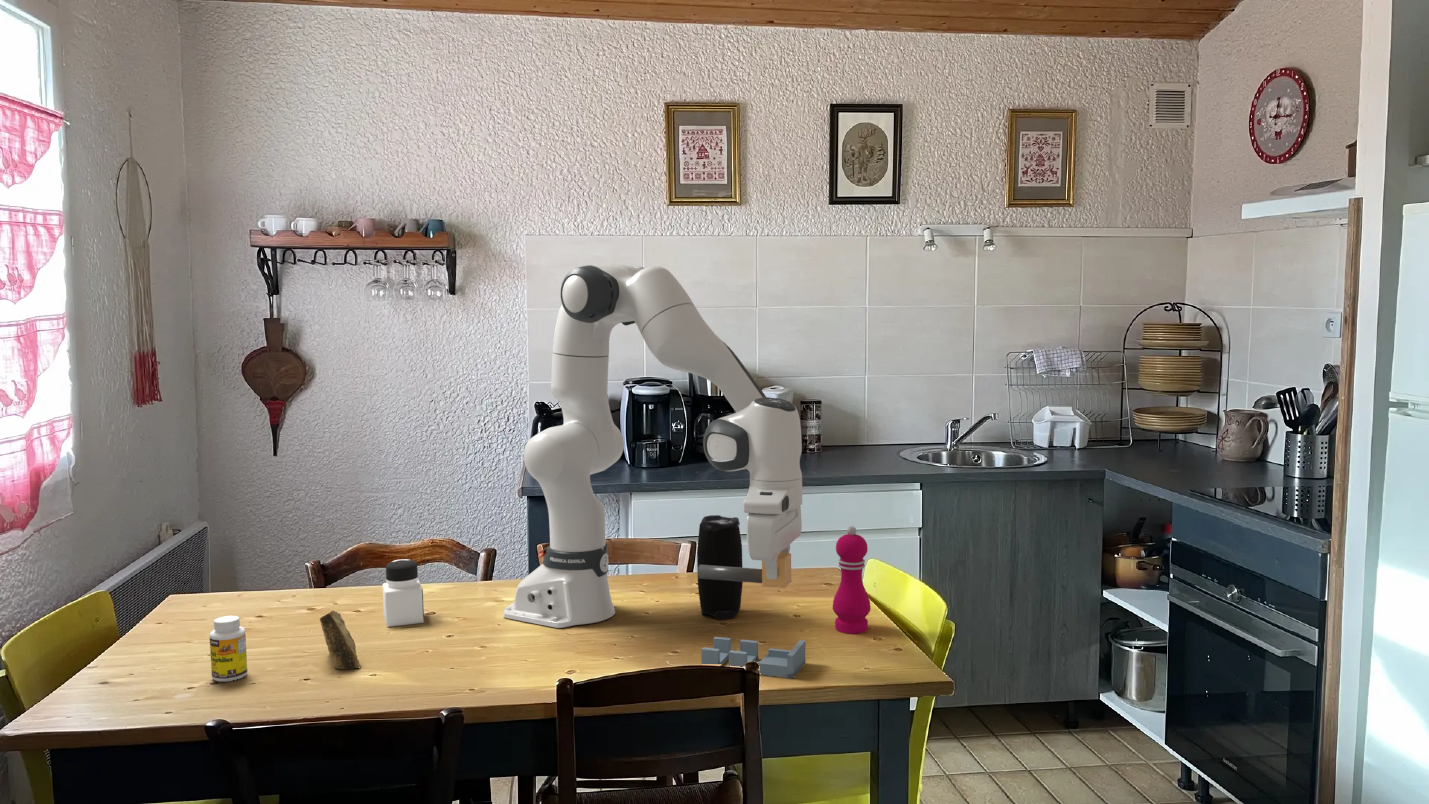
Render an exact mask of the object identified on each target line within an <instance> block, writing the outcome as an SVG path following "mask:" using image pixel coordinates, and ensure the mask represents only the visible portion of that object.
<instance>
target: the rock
mask: <svg viewBox="0 0 1429 804" xmlns="http://www.w3.org/2000/svg"><path fill="white" fill-rule="evenodd" d="M319 621H320V625H321V629H322V632H323V636H324V640H325V643H326V646H327V650H328V653H329V655H330V656H331V661H332V663H333V667H334V669H340V670H352V669H351V668H359V667H361V665H360V661H359V659H358V655H357V651H356V650H357V649H356V643H355V641H354V639H353V638H352V635H351V633H350V630H349V629H348V628H347V627H346V622H345V621H344V619H343V617H342V615H341V613H338V612H337V611H335V610H331V611H330V612H328V613H326V614H324V615H323V616H321V617H320V618H319ZM361 668H362V667H361ZM359 669H360V668H359Z"/></svg>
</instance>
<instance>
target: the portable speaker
mask: <svg viewBox="0 0 1429 804" xmlns="http://www.w3.org/2000/svg"><path fill="white" fill-rule="evenodd" d="M740 523H741V522H740V518H739V517H736V516H735V517H727V516H722V515H719V514H718V515H717V514H716V515H715V514H714V515H713V514H712V515H707V516H703V517H702V519H701V522H700V523H699V528H698V539H697V548H696V559H697V560H696V561H697V562H696V567H697V569H696V570H697V572H696V573H698V567H699V565H713V566H726V567H740V568H743V544H742V536H741V532H740V531H741V530H740ZM743 584H744V582H739V581H726V580H713V579H700V578H698V577H697V588H698V597H699V599H698V600H699V606H700V612H701V615H702V616H706V615H710V616H713V617H714V618H715V620H717V621H724V620H728V619H735V616H736V614H737V613H738V612H739V611H740V610H741V606H742V605H741V604H742V594H743Z"/></svg>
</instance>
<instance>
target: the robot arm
mask: <svg viewBox="0 0 1429 804" xmlns="http://www.w3.org/2000/svg"><path fill="white" fill-rule="evenodd" d="M560 302H561V305H560V307H559V309H558V314H557V317H556V322H555V328H554V333H553V334H554V335H553V341H552V353H551V356H552V357H551V371H550V372H551V373H550V374H551V375H550V391H551V394H552V395H553V397H554V398H556V400H557V401H558V402H559V404H560V407H561V412H562V418H563V424H560V425H556V426H551V427H548V428H546V429H544V430H542V431H540V432H538V433H536V434H535V435H534V436H532V437H531V438H529V440H528V441H527V442H526V445H525V447H524V449H523V461H524V465H525V468H526V470H527V472H528V473H529V475H530V476H531V477H532V478H533V479H534V480H536V481H537V482H538V484H539V486H540V488H541V491H542V492H543V495H544V498H545V502H546V506H547V512H548V523H549V525H548V527H549V545H548V546H546V547H545V548H542V550H540V551H538V553H537V554H539V555H538V558H539V559H540V558H542V557H543V561H542V564H541V565H539V566H538V567H537V568H535V569H534V570H533V571H532V572H531V573H529V574H528V575H527V576H526V577H524V578H523V579H522V580H521V581H520V582H519V583H518V585H517V586H516V590H515V595H514V602H511V603H510V604H508V605H507V606H506V607H505V608H504V610H503V618H505V619H511V620H515V621H520V622H524V623H525V622H526V623H530V624H535V625H542V626H546V627H552V628H555V629H556V628H557V629H562V628H568V627H572V626H577V625H587V624H594V623H600V622H601V621H605V620H606V621H607V620H608V619H610V618H611V617H614V615H615V613H616V609H615V607H614V603H613V600H612V596H611V591H610V586H609V585H610V584H609V578H608V572H609V551H608V544H607V542H606V515H605V514H606V509H605V506H604V505H603V502H601V500H599V498H597V497H596V495H595V492H594V491H593V490H594V489H593V487H592V484H591V483H592V482H591V475H594V474H597V473H600V472H604V471H606V470H607V469H608V468H610V467H611V466H613V465H614V464H615V463H617V462H618V461H619V460H620V459H621V456H622V454H623V452H624V448H625V447H624V446H625V442H624V437H623V434H622V432H621V430H620V429H619V427H617V425H616V424H615V423H614V420H613V417H612V411H611V408H610V404H609V403H610V402H609V395H608V388H609V387H608V384H609V383H608V380H609V379H608V378H609V361H610V359H609V358H610V338H611V333H612V331H613V329H614V328H615V326H617V325H618V324H622V325H624V326H626V327H627V326H630V325H633V324H636V328H638V330H639V332H640V335H641V337H642V338H643V340H644V342H645V344H646V346H647V347H648V349H649V350H650V353H651V354H652V355H653V356H654V358H656V359H657V360H658V361H659V362H660V363H661V364H662V365H663V366H664V367H668V368H670V369H673V370H676V371H681V372H684V373H688V374H692V375H696V376H698V377H701V378H703V379H706V380H708V381H709V382H711V383H712V384H713V385H715V386H716V387H717V388H718V389H719V390H720V391H721V393H722V394H723V396H724V397H725V399H726V400H727V402H728V403H729V404H730V406H731V407H732V408H733V410H734V413H731V414H729V415H726V416H722V417H719V418H716V419H714V420H712V421H711V422H710V423H709V424H708V426H707V427H706V429H705V432H704V434H703V439H702V440H703V441H702V443H703V444H702V445H703V452H704V454H705V455H704V456H705V458H706V459H707V461H708V462H709V464H711V466H712V467H713V468H715V469H716V470H718V471H721V472H722V471H723V472H736V471H741V470H748V472H749V487H748V493H747V494H746V496H745V498H744V500H743V505H742V506H743V508H742V509H743V512H744V513H746V514H747V515H746V537H747V538H746V539H747V550H748V555H749V557H750V559H751V560H752V561H753V560H754V561H761V562H762V561H764V564H765V567H766V577H767V578H768V579H776V578H777V577H778V576H779V567H777V559H778V554H779V553H790V552H791V551H790V550H791V544H792V543H793V542H794V541H796V540H797V539H798V538H799V537H800V536H801V535H802V530H803V529H802V528H803V527H802V523H803V522H802V508H801V506H802V505H803V475H802V473H803V472H802V470H801V465H800V464H801V463H800V460H801V456H802V451H803V450H802V449H803V448H802V447H803V445H802V444H803V443H802V442H803V441H802V427H801V419H800V414H799V412H798V409H797V407H796V405H795V404H793V403H792V401H788V400H786V399H783V398H778V397H767V396H766V394H765V393H764V391H763V390H762V388H760V386H759V384H758V383H757V382H756V380H755V379H754V378H753V376H752V374H750V372H749V371H748V369H747V368H746V367H745V365H744V364H743V362H742V361H741V360H740V358H739V357H738V356H737V354H736V353H735V352H734V351H733V349H732V348H730V346H728V345H727V343H725V342H724V341H723V340H722V339H721V338H720V337H719V336H718V335H717V334H716V333H715V332H714V331H713V330H712V328H711V327H710V326H709V325H708V323H707V322H706V321H705V319H704V318H703V317H702V315H701V314H700V312H699V311H698V309H697V307H696V305H695V304H694V302H693V301H692V299H691V298H690V296H689V294H688V293H687V292H686V290H685V288H684V287H683V285H682V284H681V283H680V282H679V281H678V280H677V278H676V277H675V276H674V275H673V274H672V273H671V272H670V271H669V270H668V269H666V268H665V267H662V266H657V265H653V266H652V265H651V266H648V267H643V266H635V267H634V266H630V265H626V264H625V265H624V264H616V263H615V264H609V265H607V264H605V265H592V264H591V265H590V264H589V265H583V266H580V267H579V266H578V267H576V268H574V269H571V271H569V272H567V274H566V275H565V277H564V278H563V280H562V282H561V287H560Z"/></svg>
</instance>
